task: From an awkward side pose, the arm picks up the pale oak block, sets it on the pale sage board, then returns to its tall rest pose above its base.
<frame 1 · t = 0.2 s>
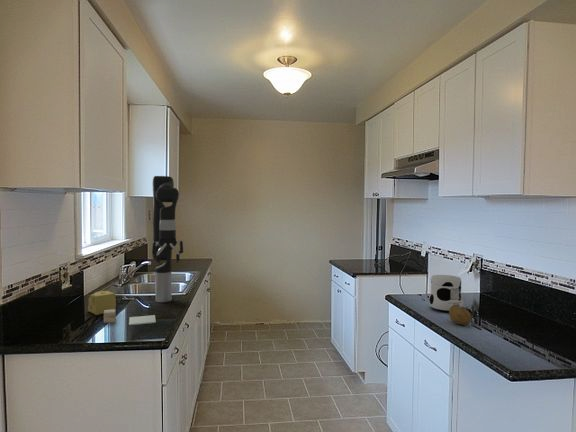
hand: (167, 262, 190), 29 cm above the worktop, tool pointing down, fingers open, 8 cm apart
potato: (460, 324, 190), on the worktop
cheese: (102, 311, 210), on the worktop
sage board: (142, 320, 194), on the worktop
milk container: (445, 310, 216), on the worktop
oak block: (109, 321, 193), on the worktop
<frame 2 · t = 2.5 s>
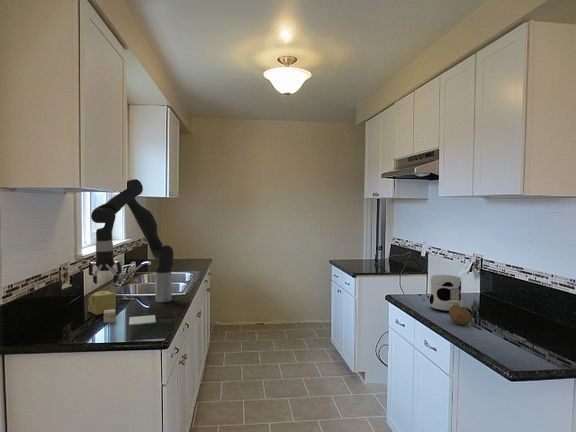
hand: (105, 283, 190), 19 cm above the worktop, tool pointing down, fingers open, 8 cm apart
nothing on the worktop moved.
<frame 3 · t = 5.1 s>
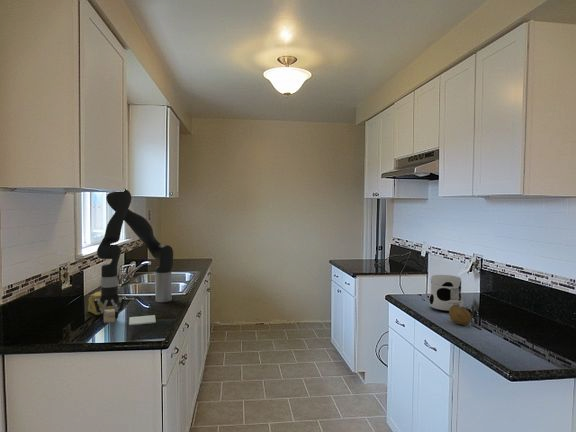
hand: (109, 319, 193), 1 cm above the worktop, tool pointing down, fingers closed on oak block, 5 cm apart
oak block: (109, 320, 193), on the worktop, touching gripper
everything else where it was.
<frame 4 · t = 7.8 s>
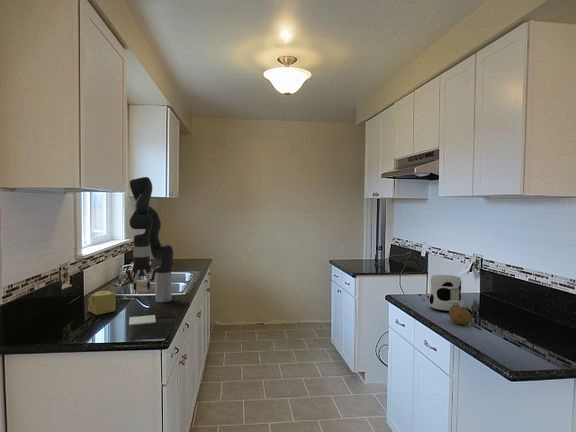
hand: (141, 289, 193), 15 cm above the worktop, tool pointing down, fingers closed on oak block, 5 cm apart
oak block: (141, 291, 193), point 15 cm above the worktop, touching gripper
everything else where it was.
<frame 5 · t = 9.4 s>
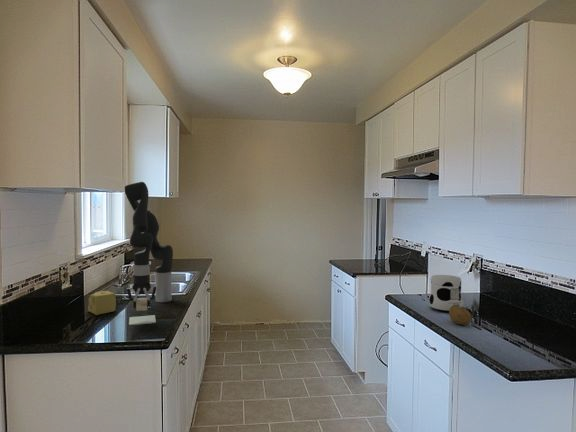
hand: (141, 307, 193), 6 cm above the worktop, tool pointing down, fingers closed on oak block, 5 cm apart
oak block: (141, 309, 193), point 6 cm above the worktop, touching gripper
everything else where it was.
when the fingers open (2 cm above the worktop, at t = 10.7 s): oak block stays where it is, resting on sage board.
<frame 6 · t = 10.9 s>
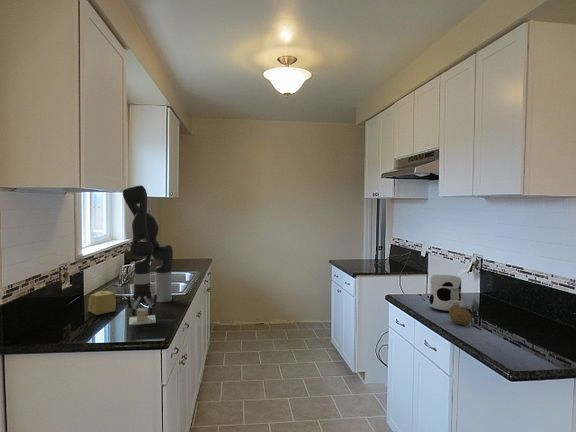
hand: (142, 315, 194), 2 cm above the worktop, tool pointing down, fingers open, 6 cm apart
oak block: (142, 319, 194), point 1 cm above the worktop, touching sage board
everything else where it was.
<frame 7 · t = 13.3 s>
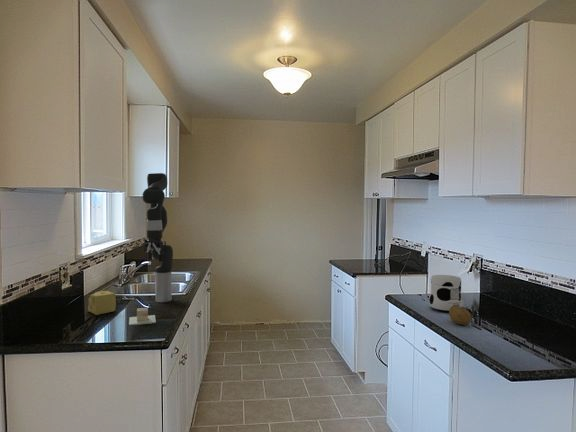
hand: (155, 260, 200), 29 cm above the worktop, tool pointing down, fingers open, 8 cm apart
nothing on the worktop moved.
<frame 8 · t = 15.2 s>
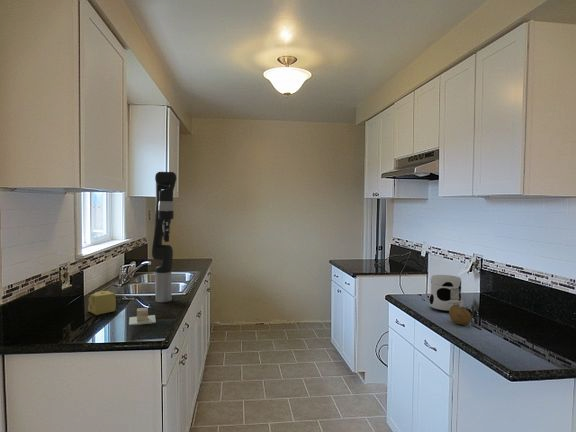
hand: (166, 240, 206), 38 cm above the worktop, tool pointing down, fingers open, 8 cm apart
nothing on the worktop moved.
at the end: oak block inside the target area on the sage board (0.0 cm from its centre), point 0.6 cm above the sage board's base; oak block tilted 0°; the gripper is holding nothing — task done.
